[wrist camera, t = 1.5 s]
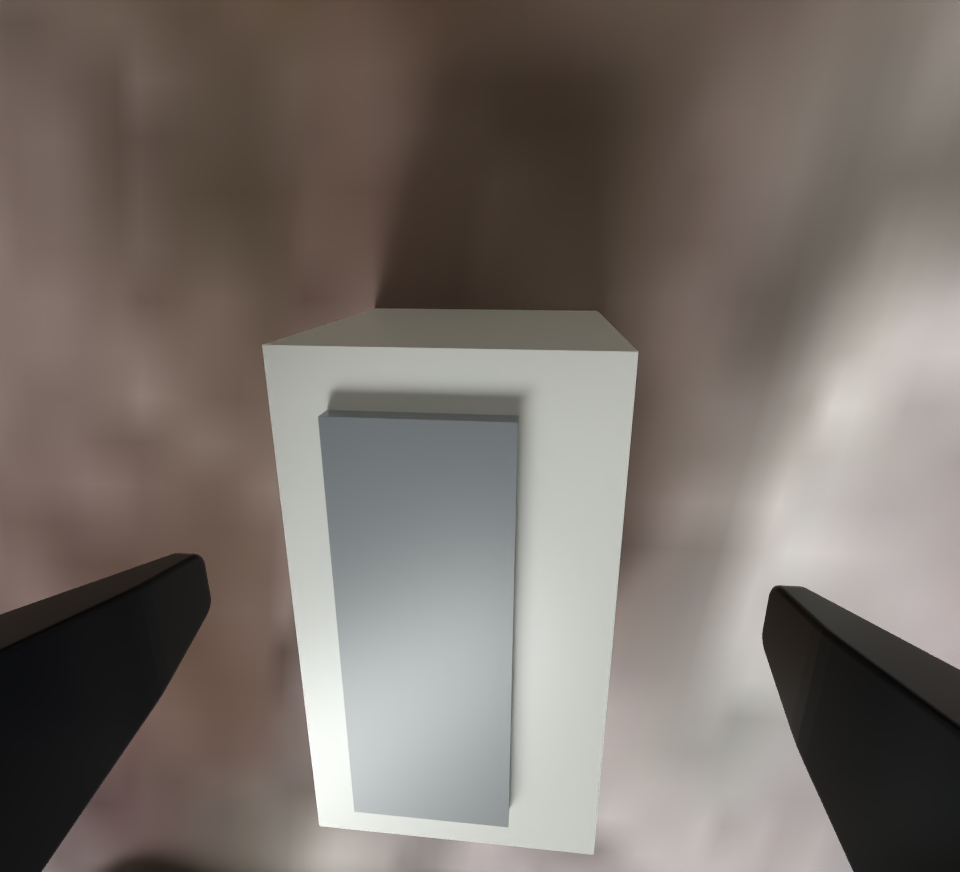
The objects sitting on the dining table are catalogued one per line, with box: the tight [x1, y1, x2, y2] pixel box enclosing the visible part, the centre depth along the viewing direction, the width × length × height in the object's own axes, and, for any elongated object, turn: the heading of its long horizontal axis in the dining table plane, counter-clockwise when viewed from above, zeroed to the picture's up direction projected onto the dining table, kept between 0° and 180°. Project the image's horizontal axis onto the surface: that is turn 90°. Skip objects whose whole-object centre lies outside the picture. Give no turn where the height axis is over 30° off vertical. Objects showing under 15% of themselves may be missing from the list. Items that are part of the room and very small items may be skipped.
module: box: [262, 308, 638, 855], centre depth 10 cm, size 5×8×5 cm, turn 0°
